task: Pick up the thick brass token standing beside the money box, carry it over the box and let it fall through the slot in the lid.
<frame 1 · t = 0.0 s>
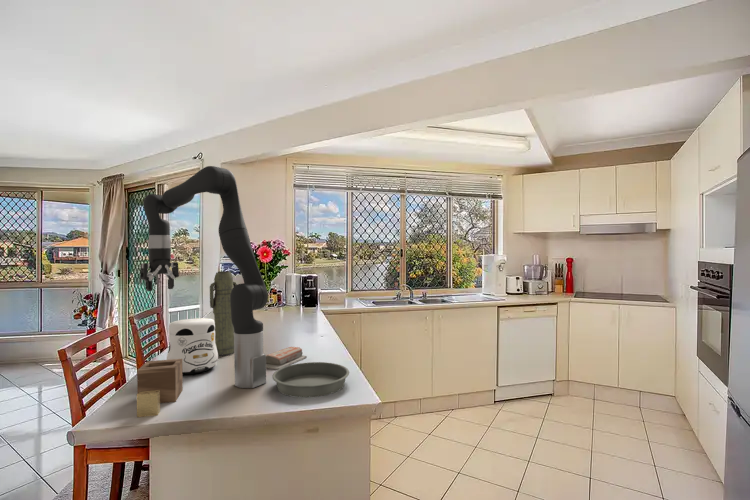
hand: (160, 289, 155), 29 cm above the worktop, tool pointing down, fingers open, 8 cm apart
token: (148, 414, 111), on the worktop
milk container: (193, 371, 151), on the worktop
cake pan: (311, 386, 133), on the worktop
coin box: (161, 397, 123), on the worktop
packaged product: (283, 363, 160), on the worktop
thermos: (224, 353, 175), on the worktop
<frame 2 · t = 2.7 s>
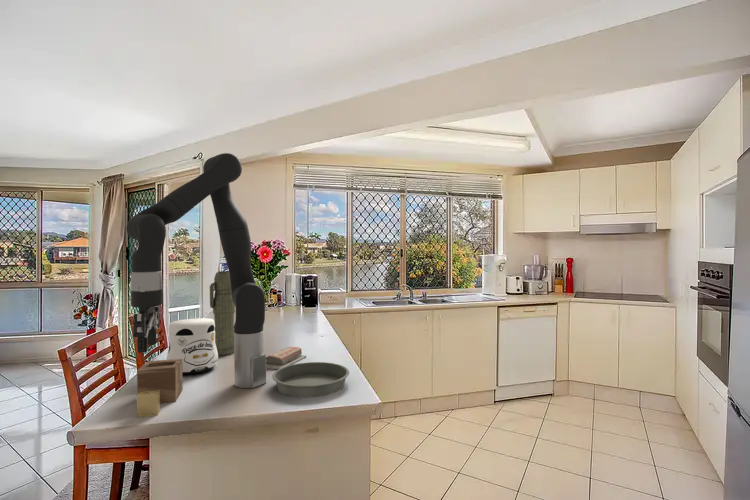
hand: (147, 348, 111), 18 cm above the worktop, tool pointing down, fingers open, 8 cm apart
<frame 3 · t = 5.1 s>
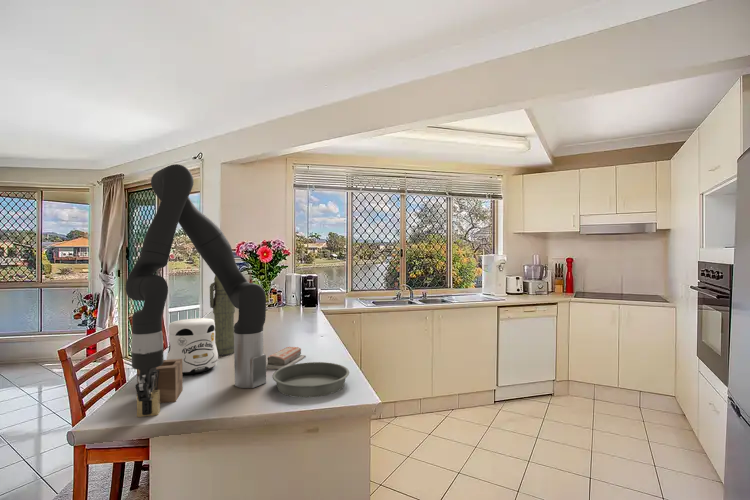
hand: (148, 412, 111), 1 cm above the worktop, tool pointing down, fingers closed on token, 2 cm apart
token: (148, 414, 111), on the worktop, touching gripper
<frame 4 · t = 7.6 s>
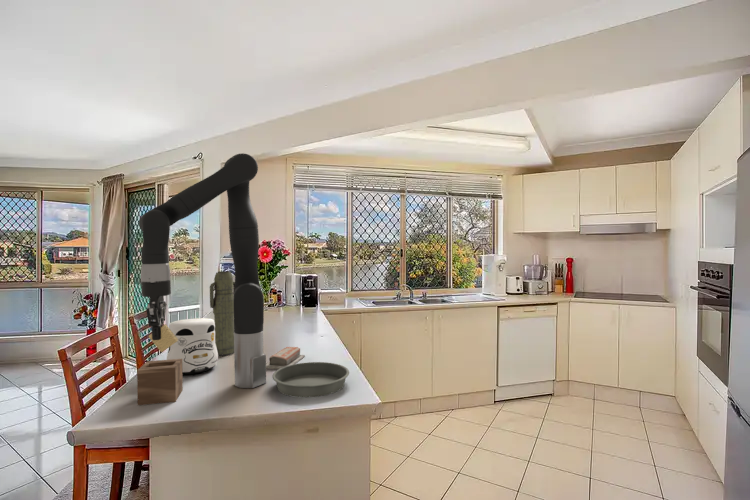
hand: (157, 338, 119), 19 cm above the worktop, tool pointing down, fingers closed on token
token: (170, 345, 120), point 16 cm above the worktop, tilted 35°, touching gripper
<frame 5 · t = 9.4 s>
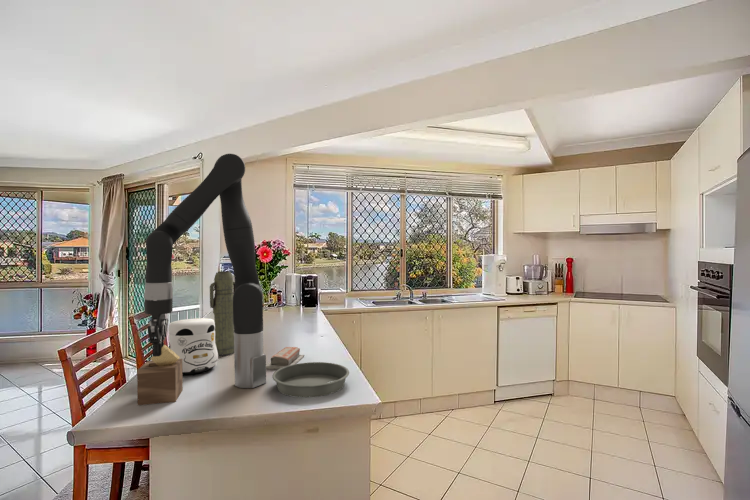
hand: (158, 354, 123), 13 cm above the worktop, tool pointing down, fingers closed on token, 2 cm apart
token: (173, 364, 124), point 10 cm above the worktop, tilted 45°, touching coin box, gripper
when the fingers open (12 cm above the worktop, at t = 10.5 s): token drops 6 cm and tips over, resting on coin box.
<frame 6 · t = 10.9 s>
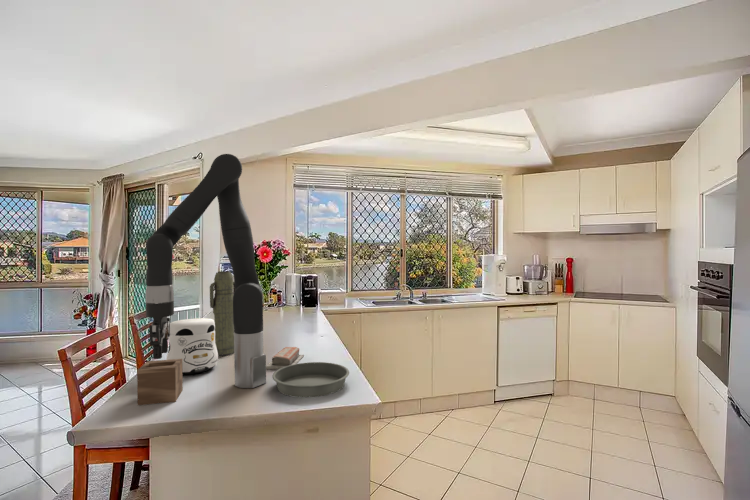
hand: (160, 355, 123), 13 cm above the worktop, tool pointing down, fingers open, 6 cm apart
token: (175, 385, 124), point 3 cm above the worktop, tilted 90°, touching coin box
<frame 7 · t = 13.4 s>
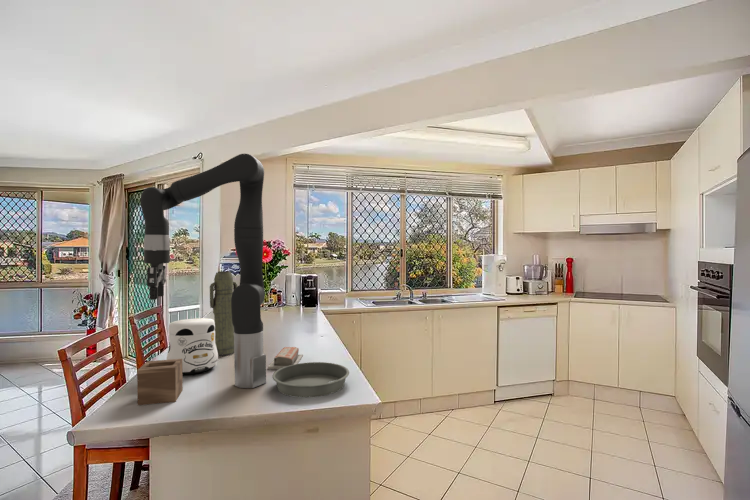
hand: (156, 297, 135), 29 cm above the worktop, tool pointing down, fingers open, 8 cm apart
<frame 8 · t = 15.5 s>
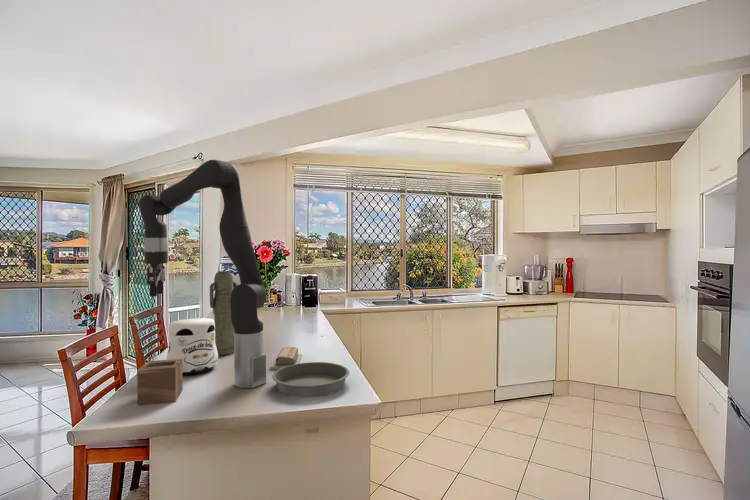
hand: (156, 295, 149), 28 cm above the worktop, tool pointing down, fingers open, 8 cm apart
at the end: token inside the target area on the coin box (4.0 cm from its centre), point 3.1 cm above the coin box's base; the gripper is holding nothing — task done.
